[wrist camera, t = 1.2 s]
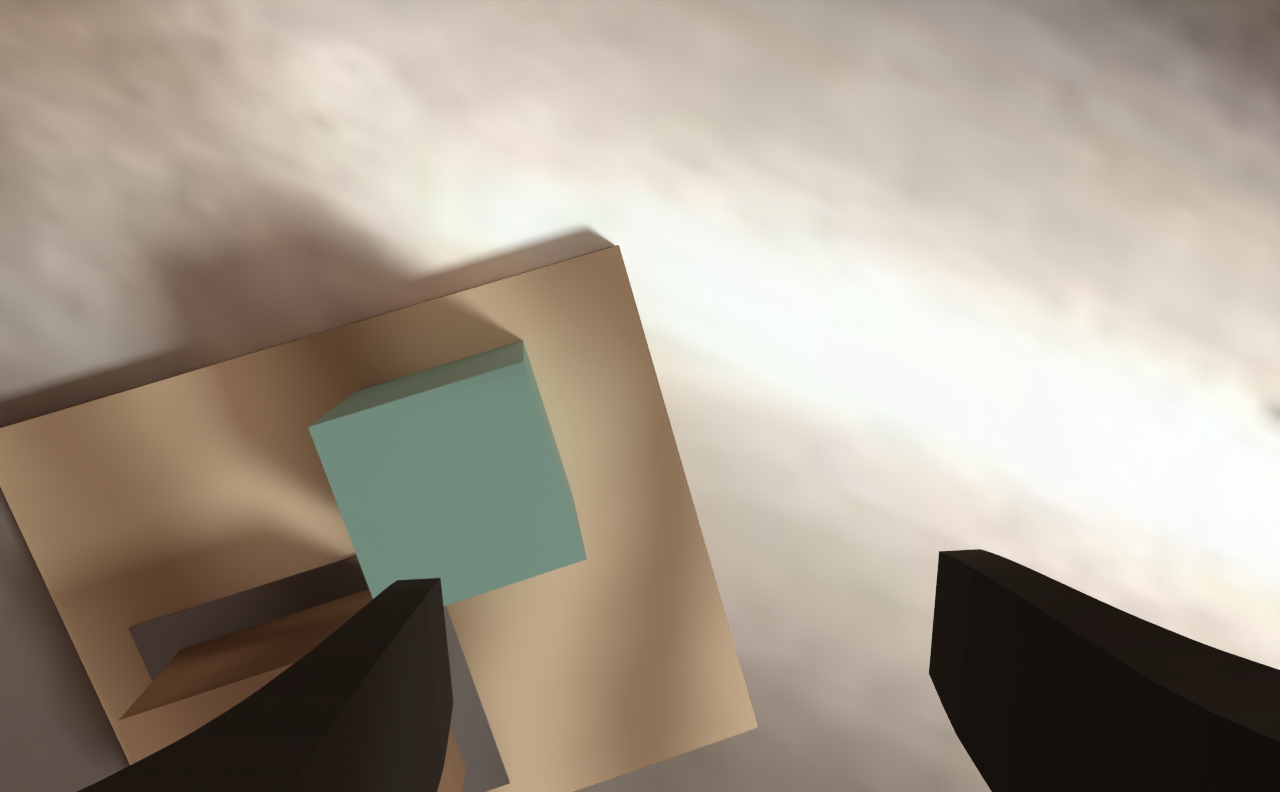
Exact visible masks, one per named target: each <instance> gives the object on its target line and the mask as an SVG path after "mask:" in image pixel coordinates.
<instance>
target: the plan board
mask: <svg viewBox="0 0 1280 792" xmlns="http://www.w3.org/2000/svg"><path fill="white" fill-rule="evenodd" d="M520 341H524V345H525V348H526V351H527V354H528V357H529V360H530V363H531V367H532V370H533V373H534V376H535V379H536V382H537V385H538V389H539V392H540V395H541V398H542V401H543V404H544V407H545V410H546V414H547V417H548V420H549V423H550V426H551V429H552V432H553V436H554V439H555V442H556V445H557V448H558V451H559V454H560V458H561V461H562V464H563V467H564V470H565V473H566V476H567V479H568V483H569V486H570V489H571V492H572V495H573V499H574V503H575V508H576V512H577V517H578V521H579V526H580V530H581V535H582V539H583V544H584V548H585V553H586V557H587V559H586V560H583V561H580V562H577V563H574V564H571V565H568V566H565V567H562V568H559V569H556V570H553V571H550V572H547V573H544V574H541V575H538V576H535V577H532V578H529V579H526V580H523V581H520V582H516V583H513V584H510V585H507V586H504V587H501V588H498V589H495V590H492V591H489V592H486V593H483V594H480V595H477V596H474V597H471V598H468V599H465V600H462V601H459V602H456V603H453V604H450V605H447V606H444V616H445V625H446V635H447V645H448V654H449V664H450V673H451V683H452V693H453V709H452V716H451V724H450V725H451V727H452V730H453V733H454V735H455V738H456V741H457V743H458V746H459V749H460V751H461V754H462V757H463V759H464V762H465V765H466V768H465V777H464V785H463V792H573V791H576V790H579V789H582V788H585V787H588V786H591V785H594V784H597V783H599V782H602V781H605V780H608V779H611V778H614V777H617V776H620V775H622V774H625V773H628V772H631V771H634V770H637V769H640V768H643V767H645V766H648V765H651V764H654V763H657V762H660V761H663V760H666V759H669V758H671V757H674V756H677V755H680V754H683V753H686V752H689V751H692V750H694V749H697V748H700V747H703V746H706V745H709V744H712V743H715V742H717V741H720V740H723V739H726V738H729V737H732V736H735V735H738V734H741V733H743V732H746V731H749V730H752V729H755V728H758V726H757V722H756V719H755V715H754V712H753V708H752V705H751V702H750V698H749V695H748V691H747V688H746V684H745V681H744V677H743V674H742V670H741V667H740V663H739V660H738V656H737V653H736V650H735V646H734V643H733V639H732V636H731V632H730V629H729V625H728V622H727V618H726V615H725V611H724V608H723V604H722V601H721V598H720V594H719V591H718V587H717V584H716V580H715V577H714V573H713V570H712V566H711V563H710V559H709V556H708V553H707V549H706V546H705V542H704V539H703V535H702V532H701V528H700V525H699V521H698V518H697V514H696V511H695V507H694V504H693V501H692V497H691V494H690V490H689V487H688V483H687V480H686V476H685V473H684V469H683V466H682V462H681V459H680V456H679V452H678V449H677V445H676V442H675V438H674V435H673V431H672V428H671V424H670V421H669V417H668V414H667V410H666V407H665V404H664V400H663V397H662V393H661V390H660V386H659V383H658V379H657V376H656V372H655V369H654V365H653V362H652V359H651V355H650V352H649V348H648V345H647V341H646V338H645V334H644V331H643V327H642V324H641V320H640V317H639V313H638V310H637V307H636V303H635V300H634V296H633V293H632V289H631V286H630V282H629V279H628V275H627V272H626V268H625V265H624V261H623V258H622V255H621V251H620V248H619V245H616V246H613V247H609V248H606V249H602V250H599V251H596V252H592V253H589V254H585V255H582V256H579V257H575V258H572V259H569V260H565V261H562V262H558V263H555V264H552V265H548V266H545V267H542V268H538V269H535V270H531V271H528V272H525V273H521V274H518V275H515V276H511V277H508V278H504V279H501V280H498V281H494V282H491V283H488V284H484V285H481V286H477V287H474V288H471V289H467V290H464V291H460V292H457V293H454V294H450V295H447V296H444V297H440V298H437V299H433V300H430V301H427V302H423V303H420V304H417V305H413V306H410V307H406V308H403V309H400V310H396V311H393V312H390V313H386V314H383V315H379V316H376V317H373V318H369V319H366V320H363V321H359V322H356V323H352V324H349V325H346V326H342V327H339V328H335V329H332V330H329V331H325V332H322V333H319V334H315V335H312V336H308V337H305V338H302V339H298V340H295V341H292V342H288V343H285V344H281V345H278V346H275V347H271V348H268V349H265V350H261V351H258V352H254V353H251V354H248V355H244V356H241V357H238V358H234V359H231V360H227V361H224V362H221V363H217V364H214V365H210V366H207V367H204V368H200V369H197V370H194V371H190V372H187V373H183V374H180V375H177V376H173V377H170V378H167V379H163V380H160V381H156V382H153V383H150V384H146V385H143V386H140V387H136V388H133V389H129V390H126V391H123V392H119V393H116V394H113V395H109V396H106V397H102V398H99V399H96V400H92V401H89V402H85V403H82V404H79V405H75V406H72V407H69V408H65V409H62V410H58V411H55V412H52V413H48V414H45V415H42V416H38V417H35V418H31V419H28V420H25V421H21V422H18V423H15V424H11V425H8V426H4V427H1V428H0V487H1V489H2V492H3V494H4V496H5V498H6V500H7V502H8V504H9V507H10V509H11V511H12V513H13V515H14V517H15V519H16V522H17V524H18V526H19V528H20V530H21V532H22V534H23V537H24V539H25V541H26V543H27V545H28V547H29V549H30V552H31V554H32V556H33V558H34V560H35V562H36V564H37V567H38V569H39V571H40V573H41V575H42V577H43V579H44V582H45V584H46V586H47V588H48V590H49V592H50V594H51V597H52V599H53V601H54V603H55V605H56V607H57V609H58V612H59V614H60V616H61V618H62V620H63V622H64V624H65V627H66V629H67V631H68V633H69V635H70V637H71V639H72V642H73V644H74V646H75V648H76V650H77V652H78V654H79V657H80V659H81V661H82V663H83V665H84V667H85V669H86V672H87V674H88V676H89V678H90V680H91V682H92V684H93V687H94V689H95V691H96V693H97V695H98V697H99V699H100V702H101V704H102V706H103V708H104V710H105V712H106V714H107V717H108V719H109V721H110V723H111V725H112V727H113V730H114V732H115V734H116V736H117V738H118V740H119V742H120V745H121V747H122V749H123V751H124V753H125V755H126V757H127V760H128V762H129V764H130V765H132V764H134V763H136V762H137V761H136V759H135V756H134V754H133V752H132V750H131V748H130V746H129V743H128V741H127V739H126V737H125V735H124V733H123V731H122V728H121V726H120V724H119V722H118V720H119V719H120V718H121V717H122V715H123V714H124V713H125V712H126V711H127V710H128V709H129V707H130V706H131V705H132V704H133V703H134V702H135V701H136V700H137V698H138V697H139V696H140V695H141V694H142V693H143V692H144V690H145V689H146V688H147V687H148V686H149V685H150V684H151V682H152V681H153V680H154V679H155V678H156V677H157V676H158V674H159V673H160V672H161V671H162V670H163V669H164V668H165V666H166V665H167V664H168V663H169V662H170V661H171V660H172V659H173V657H174V656H175V655H176V654H177V653H178V652H179V651H180V650H181V649H184V648H187V647H190V646H193V645H196V644H200V643H203V642H206V641H209V640H212V639H215V638H218V637H221V636H224V635H228V634H231V633H234V632H237V631H240V630H243V629H246V628H249V627H252V626H256V625H259V624H262V623H265V622H268V621H271V620H274V619H277V618H280V617H284V616H287V615H290V614H293V613H296V612H299V611H302V610H305V609H308V608H312V607H315V606H318V605H321V604H324V603H327V602H330V601H333V600H336V599H340V598H343V597H346V596H349V595H352V594H355V593H358V592H361V591H364V590H368V589H369V587H368V584H367V582H366V579H365V577H364V574H363V571H362V569H361V566H360V563H359V561H358V558H357V555H356V553H355V550H354V547H353V545H352V542H351V539H350V537H349V534H348V531H347V529H346V526H345V523H344V521H343V518H342V515H341V513H340V510H339V508H338V505H337V502H336V500H335V497H334V494H333V492H332V489H331V486H330V484H329V481H328V478H327V476H326V473H325V470H324V468H323V465H322V462H321V460H320V457H319V454H318V452H317V449H316V446H315V444H314V441H313V439H312V436H311V433H310V431H309V428H308V427H309V426H310V425H312V424H313V423H314V422H316V421H317V420H318V419H320V418H321V417H322V416H324V415H325V414H326V413H328V412H329V411H330V410H332V409H333V408H334V407H336V406H337V405H338V404H340V403H341V402H342V401H344V400H345V399H346V398H348V397H349V396H350V395H351V394H353V393H354V392H355V391H359V390H362V389H365V388H368V387H372V386H375V385H378V384H382V383H385V382H388V381H391V380H395V379H398V378H401V377H405V376H408V375H411V374H415V373H418V372H421V371H424V370H428V369H431V368H434V367H438V366H441V365H444V364H447V363H451V362H454V361H457V360H461V359H464V358H467V357H471V356H474V355H477V354H480V353H484V352H487V351H490V350H494V349H497V348H500V347H503V346H507V345H510V344H513V343H517V342H520Z"/></svg>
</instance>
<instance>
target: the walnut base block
mask: <svg viewBox="0 0 1280 792" xmlns="http://www.w3.org/2000/svg"><path fill="white" fill-rule="evenodd" d="M371 600H373V598H372V595H371V592H370V590H369V589H368V590H364V591H361V592H358V593H355V594H352V595H349V596H346V597H343V598H340V599H336V600H333V601H330V602H327V603H324V604H321V605H318V606H315V607H312V608H308V609H305V610H302V611H299V612H296V613H293V614H290V615H287V616H284V617H280V618H277V619H274V620H271V621H268V622H265V623H262V624H259V625H256V626H252V627H249V628H246V629H243V630H240V631H237V632H234V633H231V634H228V635H224V636H221V637H218V638H215V639H212V640H209V641H206V642H203V643H200V644H196V645H193V646H190V647H187V648H184V649H181V650H180V651H179V652H178V653H177V654H176V655H175V656H174V657H173V659H172V660H171V661H170V662H169V663H168V664H167V665H166V666H165V668H164V669H163V670H162V671H161V672H160V673H159V674H158V676H157V677H156V678H155V679H154V680H153V681H152V682H151V684H150V685H149V686H148V687H147V688H146V689H145V690H144V692H143V693H142V694H141V695H140V696H139V697H138V698H137V700H136V701H135V702H134V703H133V704H132V705H131V706H130V707H129V709H128V710H127V711H126V712H125V713H124V714H123V715H122V717H121V718H120V719H119V720H118V722H119V724H120V726H121V728H122V731H123V733H124V735H125V737H126V739H127V741H128V743H129V746H130V748H131V750H132V752H133V754H134V756H135V759H136V761H137V762H138V761H140V760H142V759H143V758H145V757H147V756H149V755H151V754H153V753H155V752H157V751H159V750H161V749H163V748H165V747H166V746H168V745H170V744H172V743H174V742H176V741H178V740H180V739H181V738H183V737H185V736H187V735H188V734H190V733H192V732H193V731H195V730H197V729H198V728H200V727H202V726H203V725H205V724H206V723H208V722H210V721H211V720H213V719H215V718H216V717H218V716H220V715H221V714H223V713H224V712H226V711H228V710H229V709H231V708H232V707H234V706H235V705H237V704H238V703H240V702H241V701H243V700H244V699H246V698H247V697H249V696H250V695H252V694H253V693H255V692H256V691H258V690H259V689H260V688H262V687H263V686H264V685H266V684H267V683H268V682H270V681H271V680H273V679H274V678H275V677H277V676H278V675H279V674H281V673H282V672H283V671H285V670H286V669H287V668H289V667H290V666H291V665H293V664H294V663H295V662H297V661H298V660H299V659H301V658H302V657H303V656H305V655H306V654H307V653H309V652H310V651H311V650H313V649H314V648H315V647H316V646H318V645H319V644H320V643H321V642H322V641H324V640H325V639H326V638H327V637H328V636H330V635H331V634H332V633H333V632H335V631H336V630H337V629H338V628H339V627H341V626H342V625H343V624H344V623H345V622H347V621H348V620H349V619H350V618H351V617H353V616H354V615H355V614H356V613H357V612H358V611H360V610H361V609H362V608H363V607H364V606H366V605H367V604H368V603H369V602H370V601H371ZM465 768H466V765H465V762H464V759H463V757H462V754H461V751H460V749H459V746H458V743H457V741H456V738H455V735H454V733H453V730H452V727H451V725H450V731H449V738H448V744H447V751H446V757H445V763H444V768H443V772H442V776H441V780H440V783H439V787H438V790H437V792H463V785H464V777H465Z"/></svg>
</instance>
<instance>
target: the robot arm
mask: <svg viewBox="0 0 1280 792" xmlns="http://www.w3.org/2000/svg"><path fill="white" fill-rule="evenodd" d="M929 675H930V677H931V679H932V682H933V684H934V686H935V689H936V691H937V693H938V696H939V698H940V700H941V702H942V705H943V707H944V709H945V711H946V713H947V716H948V718H949V720H950V722H951V724H952V726H953V728H954V730H955V733H956V735H957V736H958V738H959V740H960V741H961V743H962V744H963V746H964V748H965V749H966V751H967V753H968V754H969V756H970V758H971V759H972V761H973V762H974V764H975V766H976V767H977V769H978V770H979V772H980V774H981V775H982V777H983V778H984V780H985V782H986V783H987V785H988V786H989V788H990V789H991V791H992V792H1280V670H1278V669H1275V668H1272V667H1269V666H1266V665H1263V664H1260V663H1257V662H1254V661H1251V660H1248V659H1245V658H1242V657H1239V656H1236V655H1233V654H1230V653H1227V652H1224V651H1221V650H1219V649H1216V648H1213V647H1211V646H1208V645H1205V644H1203V643H1200V642H1197V641H1195V640H1192V639H1189V638H1187V637H1184V636H1182V635H1180V634H1177V633H1175V632H1172V631H1170V630H1167V629H1165V628H1162V627H1160V626H1157V625H1155V624H1152V623H1150V622H1147V621H1145V620H1143V619H1140V618H1138V617H1136V616H1133V615H1131V614H1129V613H1126V612H1124V611H1122V610H1120V609H1117V608H1115V607H1113V606H1111V605H1108V604H1106V603H1104V602H1102V601H1099V600H1097V599H1095V598H1093V597H1091V596H1088V595H1086V594H1084V593H1082V592H1080V591H1077V590H1075V589H1073V588H1071V587H1069V586H1067V585H1064V584H1062V583H1060V582H1058V581H1056V580H1054V579H1051V578H1049V577H1047V576H1045V575H1043V574H1041V573H1038V572H1036V571H1034V570H1032V569H1030V568H1027V567H1025V566H1023V565H1020V564H1018V563H1016V562H1014V561H1011V560H1009V559H1006V558H1004V557H1001V556H999V555H996V554H993V553H990V552H987V551H984V550H981V549H977V550H959V551H940V552H939V561H938V573H937V585H936V596H935V608H934V620H933V632H932V644H931V656H930V668H929ZM452 709H453V693H452V683H451V673H450V664H449V654H448V645H447V635H446V625H445V616H444V606H443V597H442V587H441V578H428V579H409V580H397V581H395V582H394V583H392V584H391V585H390V586H388V587H387V588H386V589H385V590H383V591H382V592H381V593H380V594H379V595H377V596H376V597H375V598H374V599H373V600H371V601H370V602H369V603H368V604H367V605H366V606H364V607H363V608H362V609H361V610H360V611H358V612H357V613H356V614H355V615H354V616H353V617H351V618H350V619H349V620H348V621H347V622H345V623H344V624H343V625H342V626H341V627H339V628H338V629H337V630H336V631H335V632H333V633H332V634H331V635H330V636H328V637H327V638H326V639H325V640H324V641H322V642H321V643H320V644H319V645H318V646H316V647H315V648H314V649H313V650H311V651H310V652H309V653H307V654H306V655H305V656H303V657H302V658H301V659H299V660H298V661H297V662H295V663H294V664H293V665H291V666H290V667H289V668H287V669H286V670H285V671H283V672H282V673H281V674H279V675H278V676H277V677H275V678H274V679H273V680H271V681H270V682H268V683H267V684H266V685H264V686H263V687H262V688H260V689H259V690H258V691H256V692H255V693H253V694H252V695H250V696H249V697H247V698H246V699H244V700H243V701H241V702H240V703H238V704H237V705H235V706H234V707H232V708H231V709H229V710H228V711H226V712H224V713H223V714H221V715H220V716H218V717H216V718H215V719H213V720H211V721H210V722H208V723H206V724H205V725H203V726H202V727H200V728H198V729H197V730H195V731H193V732H192V733H190V734H188V735H187V736H185V737H183V738H181V739H180V740H178V741H176V742H174V743H172V744H170V745H168V746H166V747H165V748H163V749H161V750H159V751H157V752H155V753H153V754H151V755H149V756H147V757H145V758H143V759H142V760H140V761H138V762H136V763H134V764H132V765H130V766H128V767H126V768H124V769H122V770H121V771H119V772H117V773H115V774H113V775H111V776H109V777H107V778H105V779H103V780H101V781H99V782H97V783H95V784H93V785H91V786H88V787H86V788H84V789H82V790H80V791H77V792H437V790H438V787H439V783H440V780H441V776H442V772H443V768H444V763H445V757H446V751H447V744H448V738H449V731H450V724H451V716H452Z"/></svg>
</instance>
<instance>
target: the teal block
mask: <svg viewBox="0 0 1280 792" xmlns="http://www.w3.org/2000/svg"><path fill="white" fill-rule="evenodd" d="M308 428H309V431H310V433H311V436H312V439H313V441H314V444H315V446H316V449H317V452H318V454H319V457H320V460H321V462H322V465H323V468H324V470H325V473H326V476H327V478H328V481H329V484H330V486H331V489H332V492H333V494H334V497H335V500H336V502H337V505H338V508H339V510H340V513H341V515H342V518H343V521H344V523H345V526H346V529H347V531H348V534H349V537H350V539H351V542H352V545H353V547H354V550H355V553H356V555H357V558H358V561H359V563H360V566H361V569H362V571H363V574H364V577H365V579H366V582H367V584H368V587H369V590H370V592H371V595H372V598H373V599H374V598H375V597H376V596H377V595H379V594H380V593H381V592H382V591H383V590H385V589H386V588H387V587H388V586H390V585H391V584H392V583H394V582H395V581H397V580H409V579H428V578H441V587H442V597H443V606H447V605H450V604H453V603H456V602H459V601H462V600H465V599H468V598H471V597H474V596H477V595H480V594H483V593H486V592H489V591H492V590H495V589H498V588H501V587H504V586H507V585H510V584H513V583H516V582H520V581H523V580H526V579H529V578H532V577H535V576H538V575H541V574H544V573H547V572H550V571H553V570H556V569H559V568H562V567H565V566H568V565H571V564H574V563H577V562H580V561H583V560H586V559H587V557H586V553H585V548H584V544H583V539H582V535H581V530H580V526H579V521H578V517H577V512H576V508H575V503H574V499H573V495H572V492H571V489H570V486H569V483H568V479H567V476H566V473H565V470H564V467H563V464H562V461H561V458H560V454H559V451H558V448H557V445H556V442H555V439H554V436H553V432H552V429H551V426H550V423H549V420H548V417H547V414H546V410H545V407H544V404H543V401H542V398H541V395H540V392H539V389H538V385H537V382H536V379H535V376H534V373H533V370H532V367H531V363H530V360H529V357H528V354H527V351H526V348H525V345H524V341H520V342H517V343H513V344H510V345H507V346H503V347H500V348H497V349H494V350H490V351H487V352H484V353H480V354H477V355H474V356H471V357H467V358H464V359H461V360H457V361H454V362H451V363H447V364H444V365H441V366H438V367H434V368H431V369H428V370H424V371H421V372H418V373H415V374H411V375H408V376H405V377H401V378H398V379H395V380H391V381H388V382H385V383H382V384H378V385H375V386H372V387H368V388H365V389H362V390H359V391H355V392H354V393H353V394H351V395H350V396H349V397H348V398H346V399H345V400H344V401H342V402H341V403H340V404H338V405H337V406H336V407H334V408H333V409H332V410H330V411H329V412H328V413H326V414H325V415H324V416H322V417H321V418H320V419H318V420H317V421H316V422H314V423H313V424H312V425H310V426H309V427H308Z"/></svg>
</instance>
